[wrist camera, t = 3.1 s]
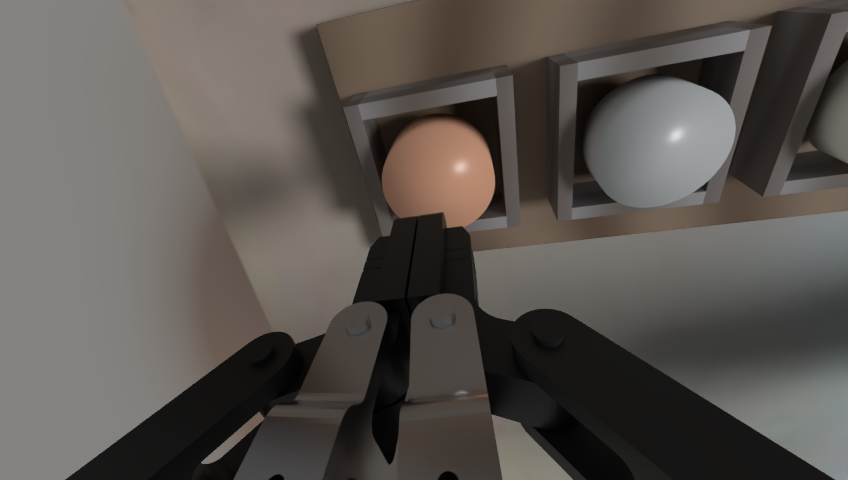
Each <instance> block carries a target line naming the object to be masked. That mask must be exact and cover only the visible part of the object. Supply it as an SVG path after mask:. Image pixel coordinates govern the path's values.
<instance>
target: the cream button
mask: <svg viewBox="0 0 848 480" xmlns="http://www.w3.org/2000/svg"><path fill="white" fill-rule="evenodd" d="M806 134H807V137H808V139H809V141H810V143H811V144H812V145H813V146H814V147H815V148H816V149H817V150H819V151H821V152H823V153H825V154H828V155H830V156H832V157H834V158H837V159H839V160H841V161H843V162H846V163H848V60H847V61H846V62H845V63H844V64H842V65H841V66H840V67H839V68H838V69H837V70H836V71H835V72H834V73H833V74H832V75H831V76H830V77H829V78H828V80H827V81H826V83H825V85H824V87H823V90H822V92H821V95H820V97H819V100H818V102H817V105H816V107H815V110H814V112H813V115H812V117H811V120H810V122H809V124H808V127H807V129H806Z"/></svg>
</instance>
